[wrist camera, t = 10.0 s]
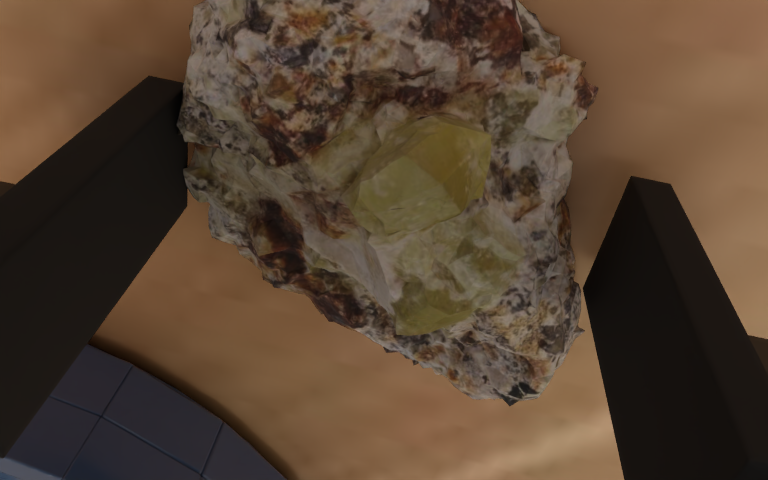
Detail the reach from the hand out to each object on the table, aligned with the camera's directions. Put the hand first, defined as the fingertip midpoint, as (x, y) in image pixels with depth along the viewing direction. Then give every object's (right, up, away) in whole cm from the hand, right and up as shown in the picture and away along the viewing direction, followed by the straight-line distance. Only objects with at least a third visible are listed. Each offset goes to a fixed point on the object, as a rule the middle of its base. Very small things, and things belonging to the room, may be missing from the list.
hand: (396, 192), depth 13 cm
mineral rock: (0, +1, +1) cm, 1 cm away
